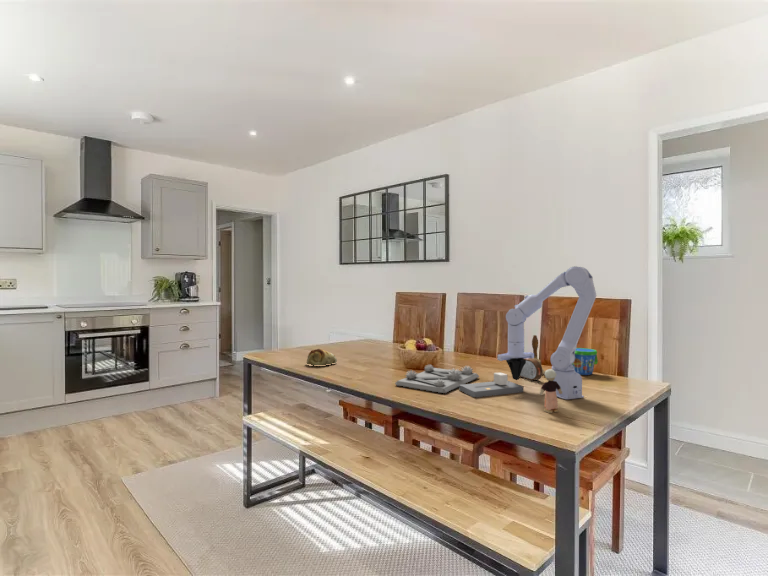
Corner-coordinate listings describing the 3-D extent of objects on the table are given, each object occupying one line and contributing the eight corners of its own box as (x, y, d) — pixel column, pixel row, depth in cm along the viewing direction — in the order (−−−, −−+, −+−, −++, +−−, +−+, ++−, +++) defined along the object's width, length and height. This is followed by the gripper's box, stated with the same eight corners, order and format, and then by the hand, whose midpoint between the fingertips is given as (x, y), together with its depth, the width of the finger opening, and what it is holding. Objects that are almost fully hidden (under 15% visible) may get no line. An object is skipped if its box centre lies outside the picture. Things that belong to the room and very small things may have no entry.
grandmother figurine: (553, 407, 131) (553, 366, 130) (564, 411, 127) (564, 369, 127) (535, 411, 127) (536, 369, 127) (546, 415, 124) (546, 371, 123)
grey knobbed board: (433, 372, 183) (433, 356, 183) (480, 379, 170) (480, 361, 170) (393, 387, 159) (393, 368, 159) (444, 396, 146) (444, 375, 146)
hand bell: (547, 375, 176) (547, 336, 175) (526, 374, 177) (526, 336, 177) (543, 370, 184) (543, 334, 184) (523, 370, 185) (523, 333, 185)
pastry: (303, 367, 194) (303, 350, 194) (309, 362, 206) (309, 346, 206) (334, 367, 194) (334, 350, 193) (338, 362, 206) (338, 346, 206)
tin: (543, 382, 164) (543, 360, 164) (536, 382, 163) (536, 360, 163) (517, 374, 178) (517, 354, 178) (511, 374, 177) (511, 354, 177)
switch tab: (507, 384, 150) (507, 374, 150) (500, 385, 149) (500, 375, 149) (500, 382, 154) (500, 372, 154) (493, 382, 153) (493, 373, 153)
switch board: (523, 391, 149) (523, 386, 149) (474, 397, 142) (474, 391, 142) (506, 385, 159) (506, 380, 159) (459, 390, 152) (459, 384, 152)
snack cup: (587, 369, 185) (587, 346, 185) (607, 374, 175) (607, 350, 175) (558, 372, 180) (558, 348, 180) (577, 377, 170) (577, 352, 170)
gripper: (525, 339, 160) (525, 375, 160) (492, 341, 155) (492, 378, 155) (538, 341, 154) (537, 379, 154) (504, 344, 149) (504, 382, 149)
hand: (515, 379), depth 154 cm, fingers closed
